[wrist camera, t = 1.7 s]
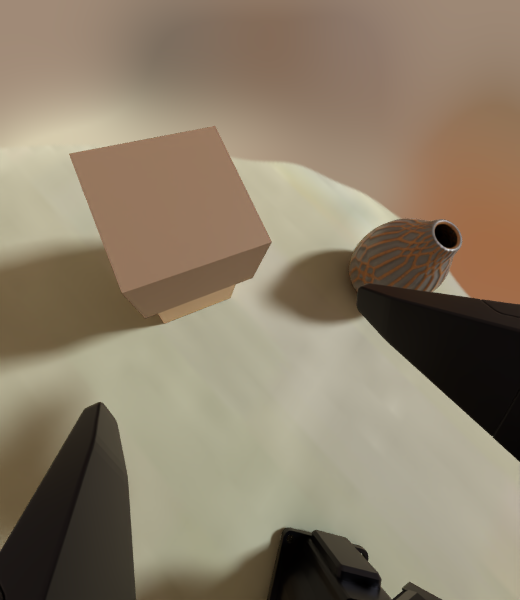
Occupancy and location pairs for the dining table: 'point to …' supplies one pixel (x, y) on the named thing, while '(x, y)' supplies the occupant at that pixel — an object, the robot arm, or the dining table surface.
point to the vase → (406, 254)
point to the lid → (172, 217)
